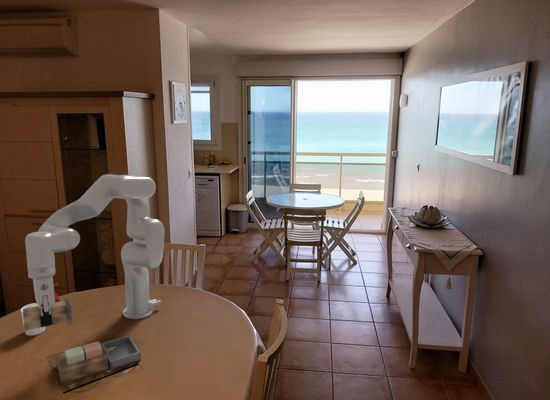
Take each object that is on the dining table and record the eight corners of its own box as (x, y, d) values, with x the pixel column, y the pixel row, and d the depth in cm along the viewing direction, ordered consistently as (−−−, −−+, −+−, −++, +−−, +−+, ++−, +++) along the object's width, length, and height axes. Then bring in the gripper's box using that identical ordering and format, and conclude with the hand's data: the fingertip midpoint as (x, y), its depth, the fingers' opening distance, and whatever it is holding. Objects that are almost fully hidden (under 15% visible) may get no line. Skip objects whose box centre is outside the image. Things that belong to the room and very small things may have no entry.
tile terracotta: (99, 347, 139) (98, 341, 138) (102, 354, 135) (101, 348, 134) (83, 352, 136) (82, 345, 135) (86, 359, 132) (85, 352, 131)
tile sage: (81, 352, 136) (81, 345, 135) (84, 359, 132) (84, 353, 131) (65, 357, 133) (64, 350, 132) (67, 364, 129) (67, 358, 128)
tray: (130, 342, 149) (129, 335, 149) (140, 360, 139) (140, 352, 138) (101, 350, 144) (101, 343, 143) (110, 369, 133) (110, 361, 133)
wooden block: (100, 352, 143) (100, 342, 142) (108, 368, 134) (107, 358, 133) (56, 365, 135) (55, 355, 134) (61, 383, 126) (60, 372, 125)
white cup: (36, 337, 151) (33, 313, 148) (18, 335, 152) (15, 311, 150) (51, 327, 158) (49, 304, 156) (34, 324, 160) (32, 301, 158)
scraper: (68, 313, 139) (67, 297, 137) (72, 324, 131) (71, 307, 130) (23, 322, 131) (22, 305, 130) (25, 334, 124) (23, 317, 123)
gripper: (58, 276, 123) (62, 331, 126) (52, 260, 136) (55, 310, 140) (29, 281, 119) (34, 337, 122) (26, 264, 132) (30, 315, 135)
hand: (45, 322), depth 131 cm, fingers closed on scraper, 3 cm apart
